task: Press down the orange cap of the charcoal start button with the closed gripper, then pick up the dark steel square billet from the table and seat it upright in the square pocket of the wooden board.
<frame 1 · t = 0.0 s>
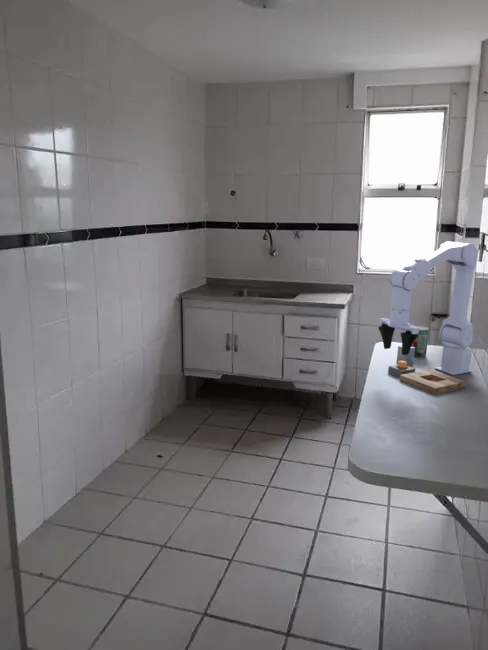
hand: (395, 351, 173), 10 cm above the table, fingers open, 7 cm apart
wooden board: (431, 384, 175), on the table
canned tomato: (414, 356, 207), on the table
button cap: (402, 365, 183), point 3 cm above the table, slide at 0.0 cm
button housing: (401, 374, 184), on the table
billet: (404, 366, 193), on the table
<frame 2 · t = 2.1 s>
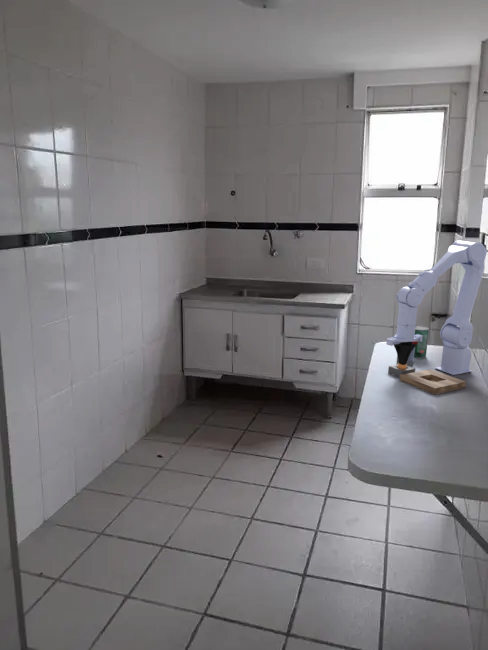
hand: (402, 364, 183), 4 cm above the table, fingers closed, pressing on button cap
button cap: (402, 367, 183), point 2 cm above the table, slide at -0.7 cm, touching gripper
everything else where it was.
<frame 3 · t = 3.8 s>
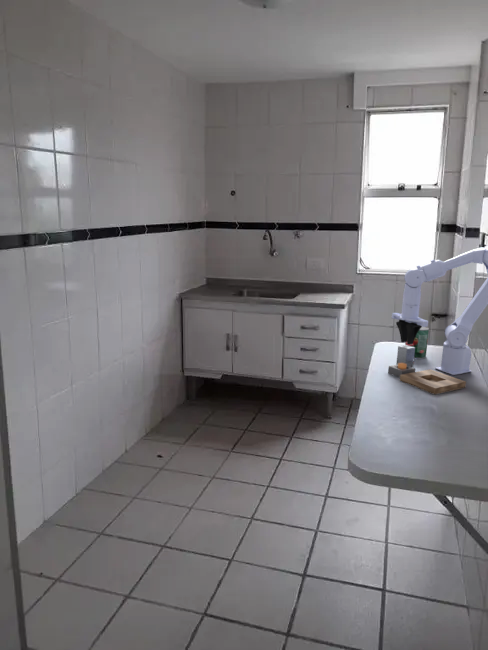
hand: (407, 342, 191), 8 cm above the table, fingers closed
button cap: (402, 367, 183), point 2 cm above the table, slide at -0.7 cm
everything else where it was.
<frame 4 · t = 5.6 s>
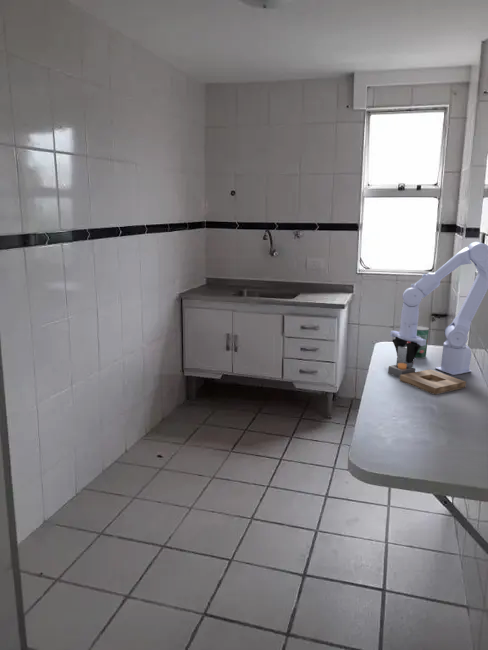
hand: (405, 360, 193), 2 cm above the table, fingers closed on billet, 4 cm apart
billet: (404, 366, 193), on the table, touching gripper
everything else where it was.
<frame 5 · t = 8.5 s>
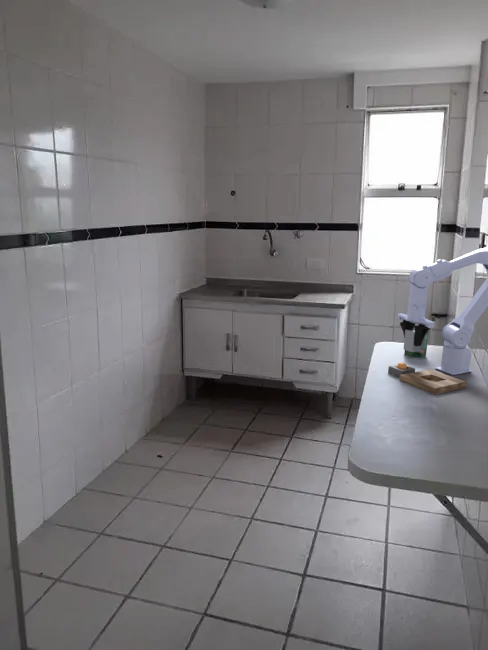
hand: (412, 344, 187), 9 cm above the table, fingers closed on billet, 4 cm apart
billet: (412, 350, 188), point 7 cm above the table, touching gripper
everything else where it was.
when the fingers open (3 cm above the table, at t = 11.4 s): billet stays where it is, resting on wooden board.
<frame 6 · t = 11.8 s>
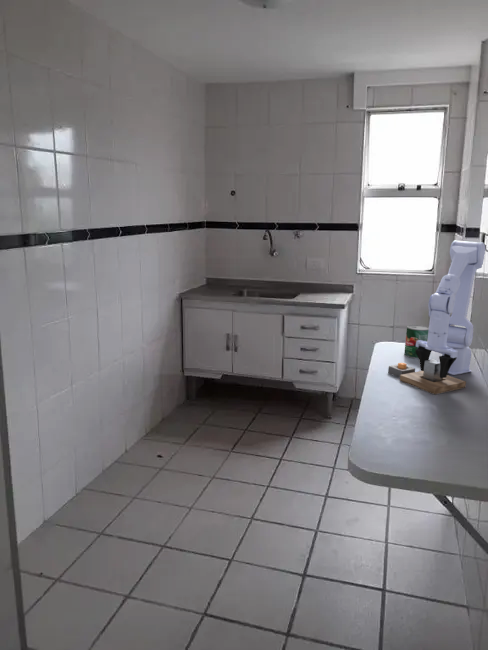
hand: (433, 373, 174), 3 cm above the table, fingers open, 7 cm apart
billet: (431, 382, 175), resting on wooden board
everything else where it was.
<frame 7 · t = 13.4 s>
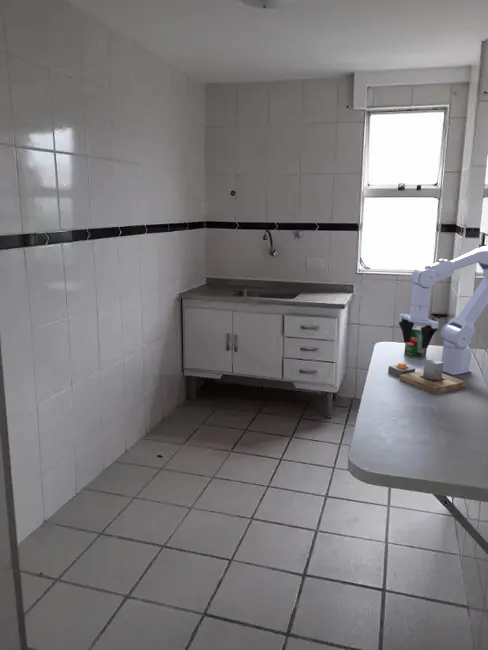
hand: (415, 345, 185), 9 cm above the table, fingers open, 7 cm apart
nothing on the table moved.
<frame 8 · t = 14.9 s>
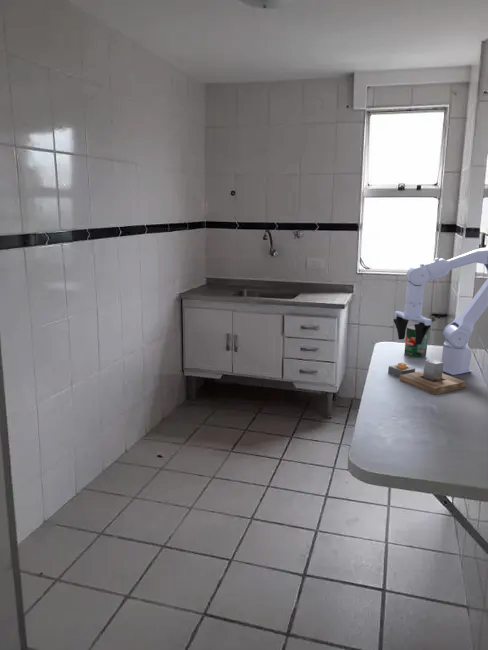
hand: (409, 341, 189), 9 cm above the table, fingers open, 7 cm apart
nothing on the table moved.
at the end: button cap slide at -0.7 cm; billet 0.2 cm off-centre on the wooden board, point 0.5 cm above the wooden board's base; billet tilted 0° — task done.
